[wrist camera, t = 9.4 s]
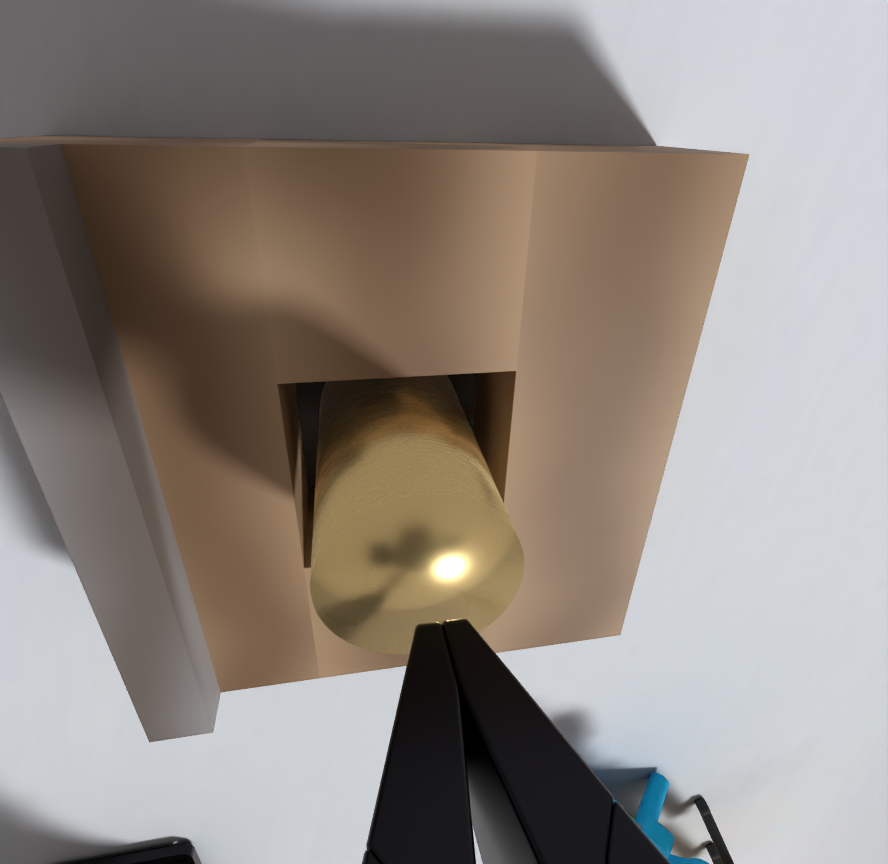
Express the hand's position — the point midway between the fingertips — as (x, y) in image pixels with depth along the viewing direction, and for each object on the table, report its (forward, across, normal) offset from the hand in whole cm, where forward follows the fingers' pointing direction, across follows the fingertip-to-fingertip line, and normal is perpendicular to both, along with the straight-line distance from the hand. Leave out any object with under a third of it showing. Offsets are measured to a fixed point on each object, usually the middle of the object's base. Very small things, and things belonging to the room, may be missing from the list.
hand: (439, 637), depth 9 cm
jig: (+8, 0, 0) cm, 8 cm away
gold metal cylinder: (+8, 0, 0) cm, 8 cm away
